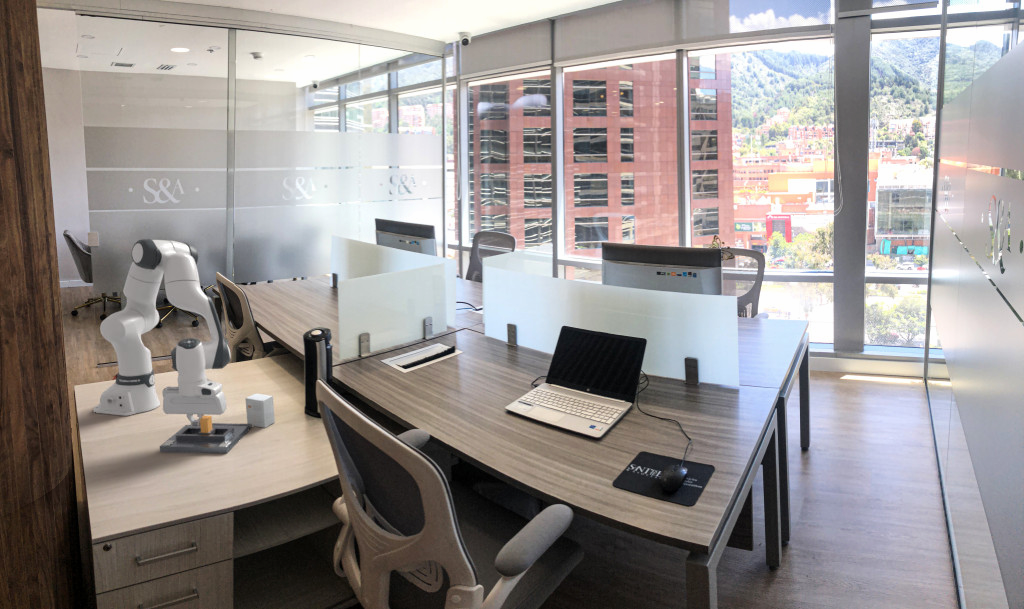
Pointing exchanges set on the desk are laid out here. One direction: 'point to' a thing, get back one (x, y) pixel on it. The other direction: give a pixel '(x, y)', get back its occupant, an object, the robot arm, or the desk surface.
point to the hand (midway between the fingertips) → (196, 425)
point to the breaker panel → (204, 440)
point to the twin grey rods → (232, 424)
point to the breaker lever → (206, 426)
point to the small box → (260, 410)
